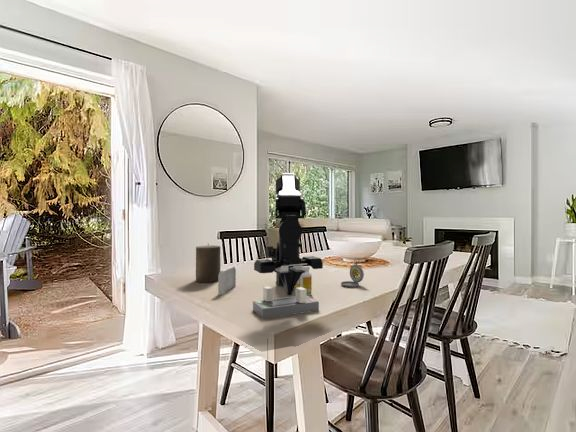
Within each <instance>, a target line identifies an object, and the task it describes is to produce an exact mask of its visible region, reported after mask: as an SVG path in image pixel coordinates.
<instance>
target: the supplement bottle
mask: <svg viewBox="0 0 576 432" xmlns="http://www.w3.org/2000/svg"><path fill="white" fill-rule="evenodd" d="M310 267H311V266H303V270H304V271H305V273H302V275H301V276H300V278H299V280H298V281H297V283H296V286H295V289H296V288H299V287H303V288H305V289H307V296H309V297H311V295H312V294H313V293H312V283H313V282H312V280H313V279H312V278H313V277H312V276H313V275H312V273H311V272H310Z"/></svg>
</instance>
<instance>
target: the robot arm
mask: <svg viewBox="0 0 576 432" xmlns="http://www.w3.org/2000/svg"><path fill="white" fill-rule="evenodd" d="M300 191H301V180H300V179H299V178H297V175H296V174H295V173H292V172H291V173H289V172H288V173H286V172H285V173H283V172H282V173H281V174H280V177H278V178H276V180H275V195H277V197H275V217H274V218H275V219H280V221H279V223H278V241H277V242H276V248H274V246H269V245H268V246H266V247H265V249H264V250H265V254H264V255H265V258H266V259H265V258H264V259H256V260H255V261H254V264H253V270H254V271H255V272H257V273H259V274H271V273H272V274H273V273H276V275H275V276H276V278H275V279H276V281H275V284H277V285H278V286H281V287H284V290H285V293H286V296H287V297H291V296H292V295H293V291H294V290H295V289H296V283H297V281H298V280H299V278H300V276H301V275H302V273H305V271H304V270H303V266H310V267H311V268H312V269H313V270H319V269H320V270H321V269H323V268H324V267H323V266H324V262H323V260H322V258H320V257H317V256H314V255H310V256H302V258H301V257H300V248H302V246H303V243H301V241H300V238H301V237H302V235H303V229H302V226H301V222H300V221H299V219H305V217H306V216H307V207H306V201H305V199H304V197H302V195H301V192H300Z"/></svg>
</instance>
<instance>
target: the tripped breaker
mask: <svg viewBox="0 0 576 432" xmlns="http://www.w3.org/2000/svg"><path fill="white" fill-rule="evenodd" d="M295 296H296V301H298V302H299V303H304V302H306V298H307V289H305V288H303V287H299V288H296V287H295Z"/></svg>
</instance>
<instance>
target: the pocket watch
mask: <svg viewBox="0 0 576 432" xmlns="http://www.w3.org/2000/svg"><path fill="white" fill-rule="evenodd" d="M357 260H358V261H357ZM353 261H354V263H355V264H353V265H352V266H351V267H350V269H349V276H350V278H351V280H352V281H351V280H347V281H341V282H340V285H341V286H342V287H345V288H356V287H359V284H360V283H361V282H362V281H363V280H364V276H365V273H364V269H363V268H362V267H361V266H360V265H358V264H359V261H360V259H359V258H355V259H354V260H353Z"/></svg>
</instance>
